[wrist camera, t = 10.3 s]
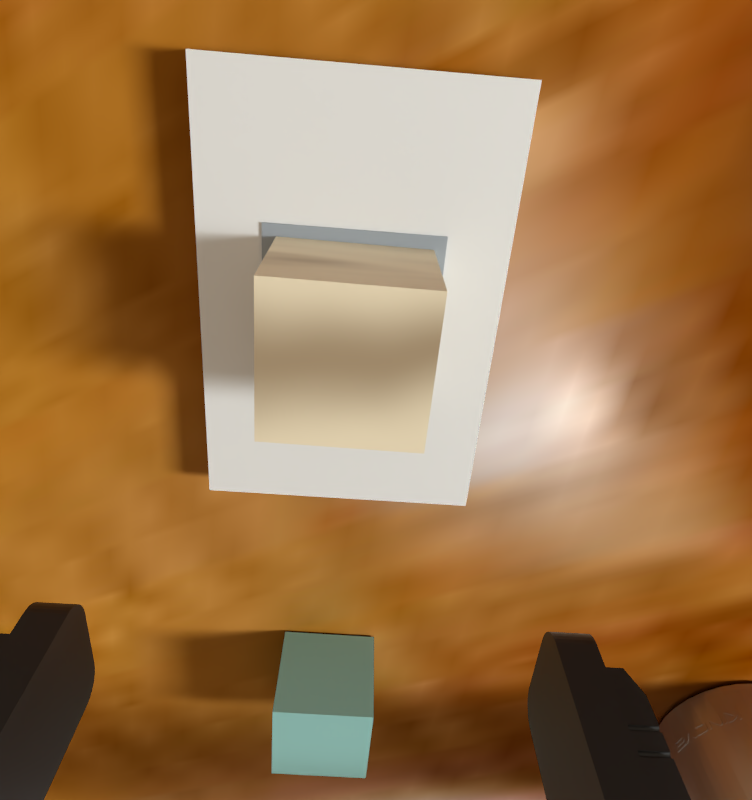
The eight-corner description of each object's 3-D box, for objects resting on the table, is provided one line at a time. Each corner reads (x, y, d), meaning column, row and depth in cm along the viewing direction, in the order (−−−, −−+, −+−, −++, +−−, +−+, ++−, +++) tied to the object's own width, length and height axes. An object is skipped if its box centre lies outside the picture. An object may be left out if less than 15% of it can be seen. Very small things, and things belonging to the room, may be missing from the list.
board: (462, 490, 31) (465, 507, 30) (215, 475, 31) (208, 491, 29) (533, 79, 23) (542, 80, 21) (194, 49, 22) (184, 48, 21)
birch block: (415, 389, 27) (424, 453, 23) (274, 379, 27) (254, 441, 22) (434, 249, 24) (447, 291, 20) (276, 236, 24) (253, 275, 19)
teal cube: (366, 695, 38) (365, 778, 34) (283, 690, 38) (271, 773, 34) (373, 637, 36) (373, 717, 31) (285, 631, 36) (272, 712, 31)
